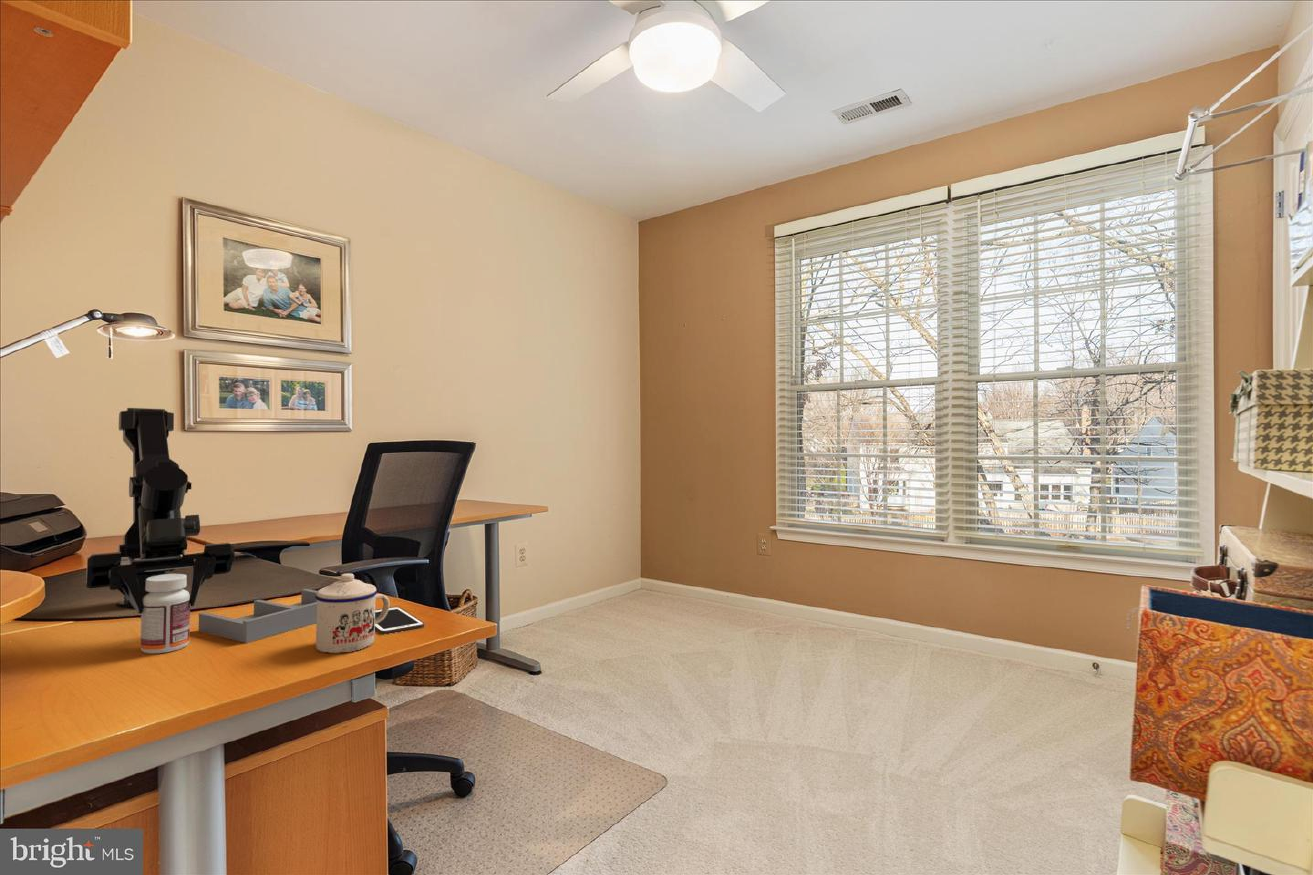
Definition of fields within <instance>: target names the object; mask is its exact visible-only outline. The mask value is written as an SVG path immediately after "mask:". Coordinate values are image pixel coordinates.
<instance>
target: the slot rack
mask: <svg viewBox="0 0 1313 875" xmlns="http://www.w3.org/2000/svg"><path fill="white" fill-rule="evenodd" d="M318 591H319V590H316V589H315V590H314V589H309V588H303V589H301V593H300V594H301V595H300V596H301V599H300V600H301V601H300V602H298V603H297V602H296V603H294V604H289V605H287V604H282V603H278V602H272V601H269V600H268V601H267V600H263V599H257V600H256V599H255V600H254V601H253V614H249V615H245V616H242V617H238V618H232V617H227V616H225V615H224V616H223V615H220V614H214V613H210V612H206V611H204V612H200V613H198V632H202V633H205V634H210V635H212V636H215V637H217V636H218V637H221V638H223V639H224V638H226V639H228V640H233V641H237V642H241V643H245V644H248V643H252V642H255V641H258V640H262V639H266V638H269V637H272V636H273V637H274V636H276V635H279V634H283V633H285V632H289V631H293V630H296V629H300V628H304V627H307V626H310V625H314V624H317V599H316V597H315V596H316V594H317V592H318Z"/></svg>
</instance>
